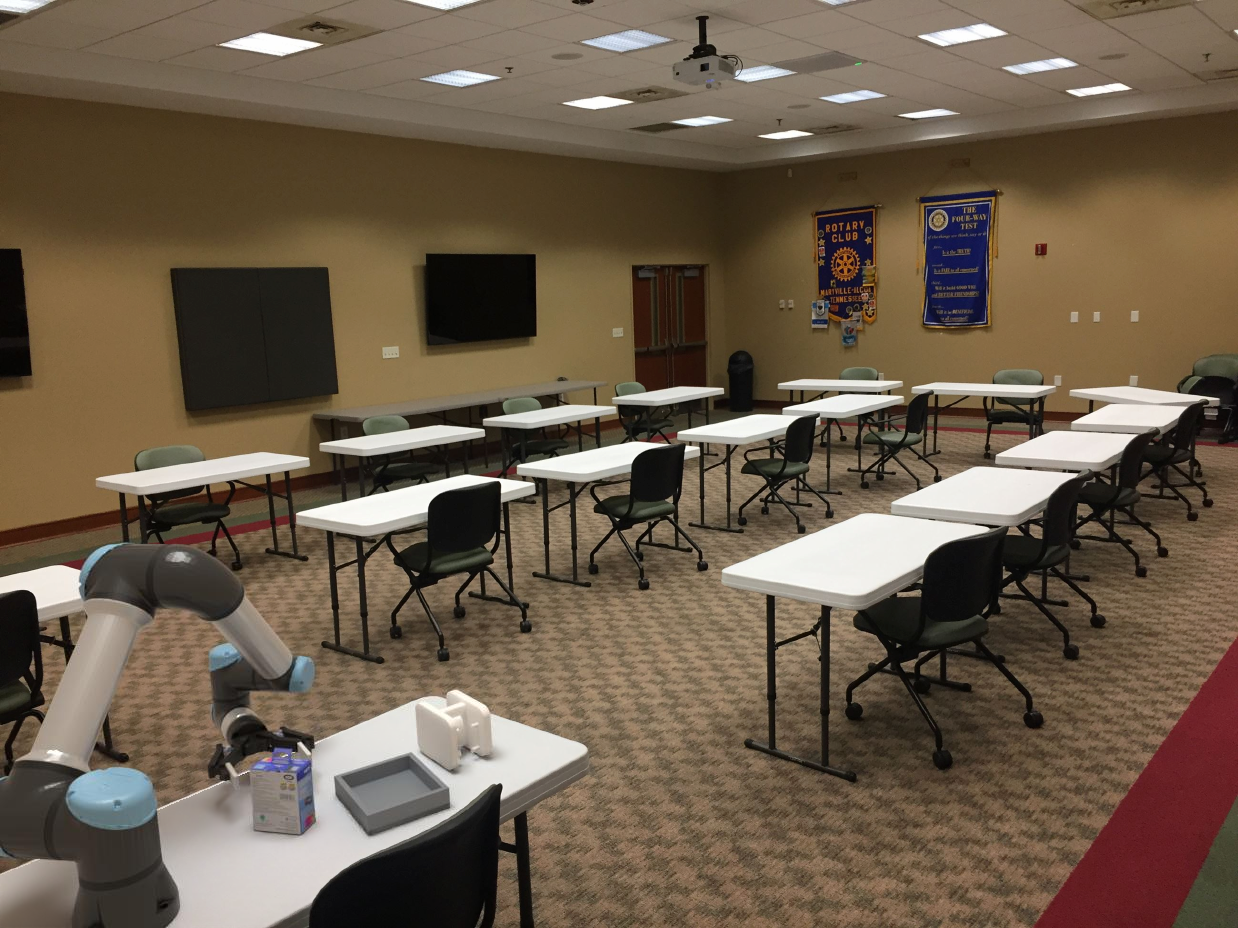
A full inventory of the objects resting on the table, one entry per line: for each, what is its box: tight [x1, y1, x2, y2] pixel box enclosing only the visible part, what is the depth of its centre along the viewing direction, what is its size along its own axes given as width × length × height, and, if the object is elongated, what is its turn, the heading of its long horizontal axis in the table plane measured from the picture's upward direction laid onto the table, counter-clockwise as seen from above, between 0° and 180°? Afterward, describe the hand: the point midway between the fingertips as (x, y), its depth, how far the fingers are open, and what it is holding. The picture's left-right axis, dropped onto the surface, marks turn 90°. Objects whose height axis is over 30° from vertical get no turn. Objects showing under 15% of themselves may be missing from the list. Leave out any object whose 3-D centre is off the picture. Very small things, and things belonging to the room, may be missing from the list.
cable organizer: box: [415, 689, 493, 771], centre depth 199 cm, size 15×11×12 cm
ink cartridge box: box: [248, 748, 316, 835], centre depth 173 cm, size 10×6×14 cm, turn 78°
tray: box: [333, 751, 451, 837], centre depth 182 cm, size 16×18×4 cm
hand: (274, 771), depth 179 cm, fingers open, 13 cm apart
